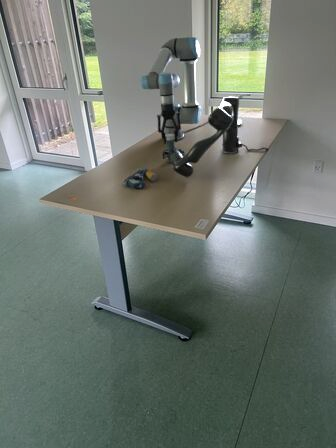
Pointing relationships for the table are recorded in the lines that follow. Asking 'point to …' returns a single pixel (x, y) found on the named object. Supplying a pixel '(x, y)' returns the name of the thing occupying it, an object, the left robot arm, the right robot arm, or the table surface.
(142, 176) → the spray gun
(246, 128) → the table surface
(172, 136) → the lid
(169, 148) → the bottle
